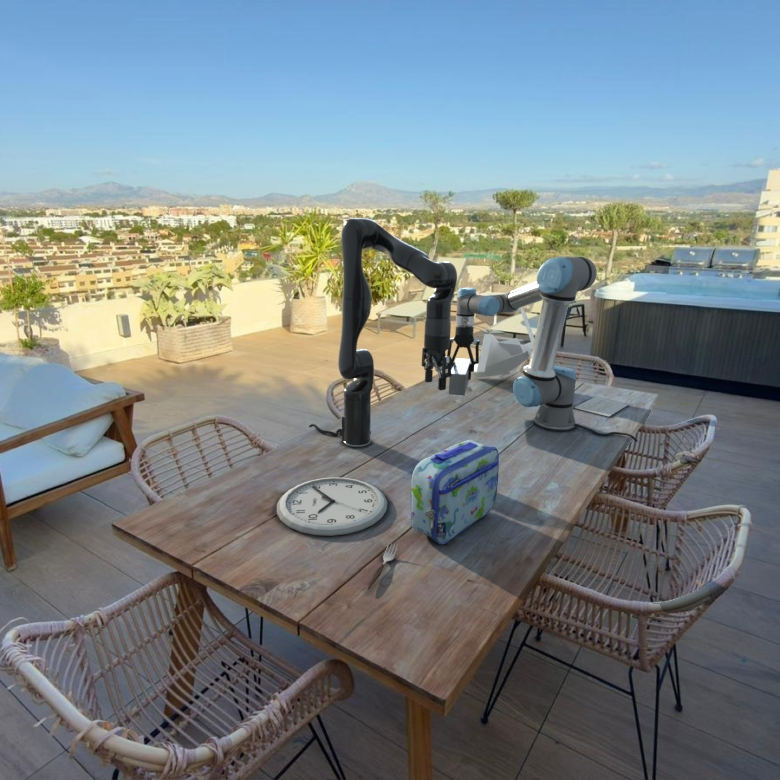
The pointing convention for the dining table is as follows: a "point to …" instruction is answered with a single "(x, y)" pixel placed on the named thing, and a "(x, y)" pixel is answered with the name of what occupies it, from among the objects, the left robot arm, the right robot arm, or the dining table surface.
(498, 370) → the white plastic object
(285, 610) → the dining table surface
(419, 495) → the lunch box
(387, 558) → the fork
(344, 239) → the left robot arm
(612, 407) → the invitation card
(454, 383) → the box
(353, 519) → the wall clock
